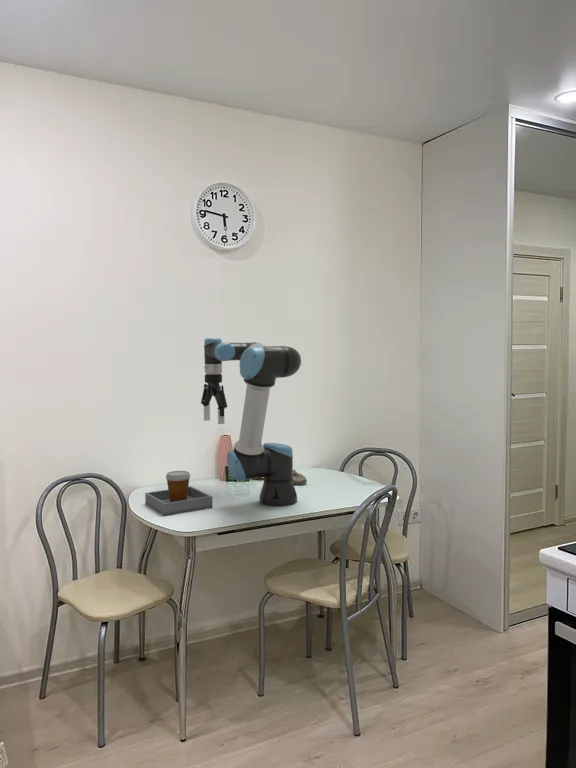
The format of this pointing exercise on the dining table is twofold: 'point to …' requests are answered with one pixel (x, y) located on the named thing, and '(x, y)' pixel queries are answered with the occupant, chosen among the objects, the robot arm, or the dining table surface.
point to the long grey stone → (298, 478)
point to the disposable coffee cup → (178, 485)
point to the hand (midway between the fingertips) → (213, 422)
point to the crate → (178, 502)
